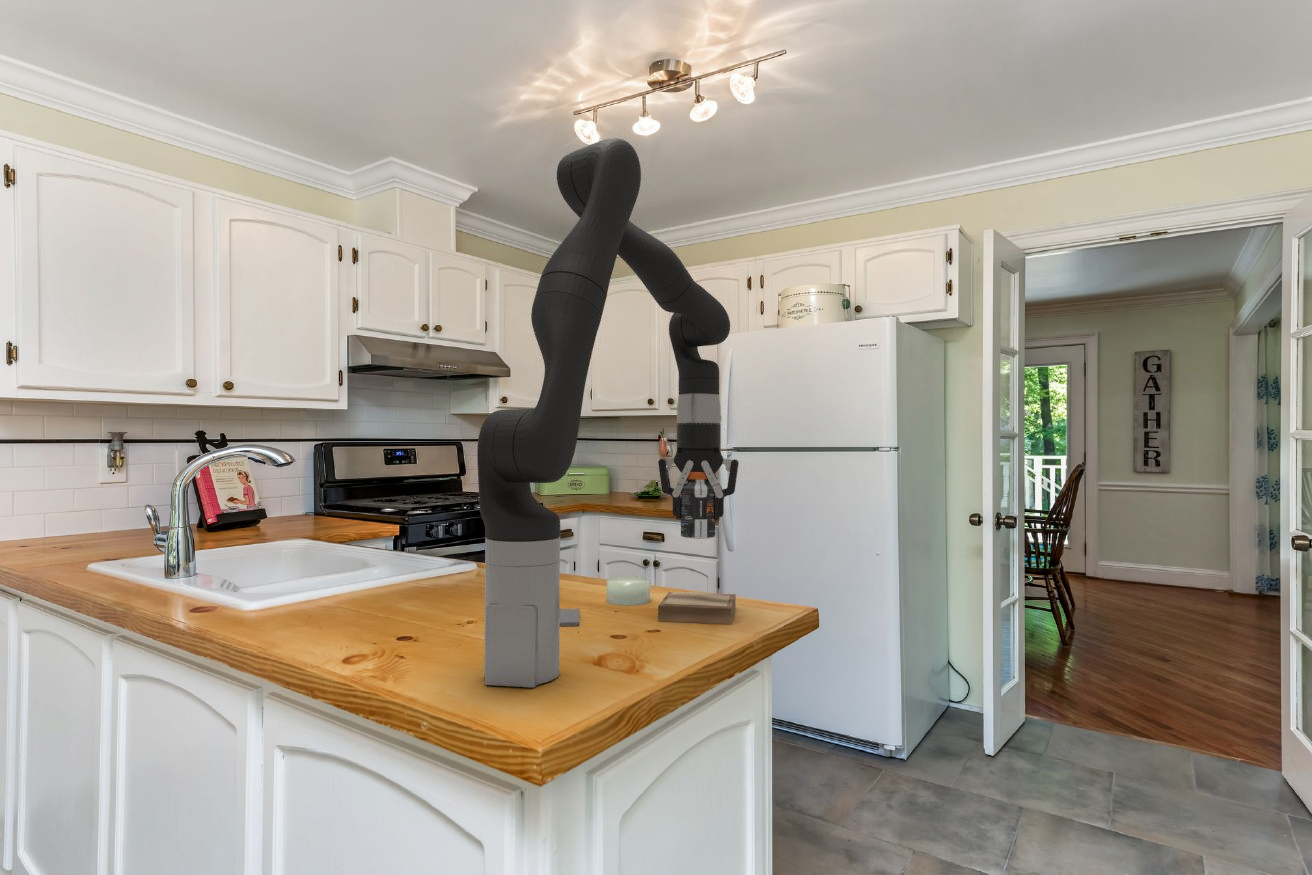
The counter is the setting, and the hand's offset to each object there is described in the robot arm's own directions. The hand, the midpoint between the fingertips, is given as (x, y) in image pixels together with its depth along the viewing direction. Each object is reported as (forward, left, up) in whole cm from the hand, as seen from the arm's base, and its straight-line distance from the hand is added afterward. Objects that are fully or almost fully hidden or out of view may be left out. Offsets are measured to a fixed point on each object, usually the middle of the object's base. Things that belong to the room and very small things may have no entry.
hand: (698, 519), depth 127 cm
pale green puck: (+9, +14, -16) cm, 23 cm away
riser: (0, 0, -16) cm, 16 cm away
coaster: (-8, +24, -16) cm, 30 cm away
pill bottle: (0, 0, -3) cm, 3 cm away
